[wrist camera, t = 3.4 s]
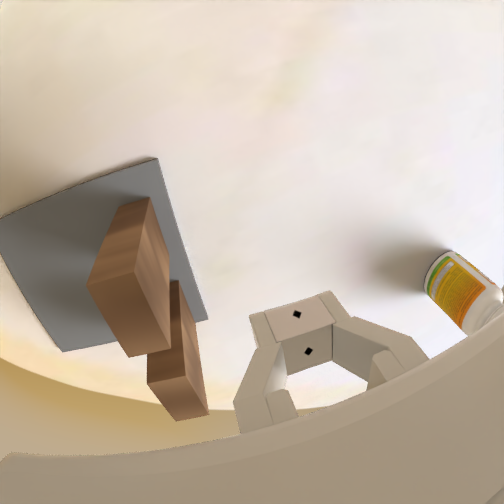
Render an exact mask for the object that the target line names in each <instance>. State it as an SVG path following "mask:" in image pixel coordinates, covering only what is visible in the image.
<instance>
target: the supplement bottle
mask: <svg viewBox="0 0 504 504" xmlns="http://www.w3.org/2000/svg"><path fill="white" fill-rule="evenodd" d="M424 288H425V292H426V293H427V295H428V296H429V297H430V298H431V299H432V300H433V301H434V302H435V303H436V304H437V305H438V306H439V307H440V308H441V309H442V310H443V311H444V312H445V313H446V314H447V315H448V316H449V317H450V318H451V319H452V320H453V321H454V322H455V323H456V325H457V326H458V327H459V328H460V329H461V330H462V331H463V332H464V333H465V334H466V335H468V336H470V335H471V334H473V333H474V332H476V331H477V330H479V329H480V328H482V327H483V326H485V325H486V324H487V323H489V322H490V321H492V320H493V319H495V318H496V317H497V316H499V315H500V314H501V313H503V312H504V304H502V302H503V293H502V290H501V289H500V288H499V287H498V286H497V285H496V284H495V283H494V282H492V281H491V280H490V279H489V278H488V277H486V276H485V275H484V274H483V273H482V272H481V271H479V270H478V269H477V268H476V267H474V266H473V265H472V264H471V263H470V262H468V261H467V260H466V259H464V258H463V257H462V256H461V255H459V254H458V253H456V252H453V251H450V252H447V253H445V254H443V255H442V256H440V257H439V258H438V259H437V260H436V261H435V262H434V263H433V265H432V266H431V267H430V269H429V271H428V273H427V275H426V278H425V283H424Z"/></svg>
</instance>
